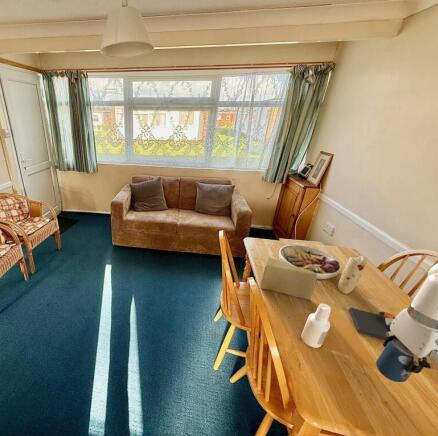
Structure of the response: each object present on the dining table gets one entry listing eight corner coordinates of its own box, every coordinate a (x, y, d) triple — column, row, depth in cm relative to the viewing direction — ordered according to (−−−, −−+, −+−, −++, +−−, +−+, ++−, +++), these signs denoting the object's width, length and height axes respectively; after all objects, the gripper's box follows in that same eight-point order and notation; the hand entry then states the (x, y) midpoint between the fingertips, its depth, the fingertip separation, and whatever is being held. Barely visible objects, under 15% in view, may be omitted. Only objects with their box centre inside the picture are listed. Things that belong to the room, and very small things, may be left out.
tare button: (390, 316, 98) (392, 313, 97) (393, 321, 95) (395, 318, 95) (381, 314, 99) (383, 311, 98) (384, 318, 96) (386, 316, 96)
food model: (351, 298, 111) (367, 264, 103) (334, 291, 116) (349, 258, 107) (354, 288, 117) (370, 256, 109) (338, 282, 122) (352, 250, 113)
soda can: (403, 389, 67) (422, 364, 62) (372, 371, 72) (388, 346, 67) (406, 374, 71) (425, 348, 66) (376, 357, 76) (392, 332, 71)
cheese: (309, 293, 115) (319, 269, 108) (310, 305, 107) (320, 280, 101) (261, 278, 125) (267, 255, 119) (259, 288, 118) (265, 264, 111)
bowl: (275, 270, 131) (278, 259, 128) (279, 246, 154) (282, 236, 151) (340, 289, 117) (346, 277, 113) (334, 260, 140) (338, 249, 136)
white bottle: (324, 349, 87) (341, 315, 80) (305, 346, 88) (319, 313, 81) (316, 334, 93) (330, 301, 86) (297, 331, 94) (310, 299, 87)
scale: (390, 320, 99) (393, 314, 98) (405, 346, 88) (410, 340, 87) (347, 308, 105) (350, 303, 104) (357, 332, 94) (360, 326, 93)
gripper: (484, 347, 53) (443, 391, 61) (413, 293, 69) (388, 334, 76) (448, 344, 54) (412, 388, 61) (385, 292, 70) (363, 332, 77)
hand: (399, 358), depth 69 cm, fingers closed on soda can, 7 cm apart
